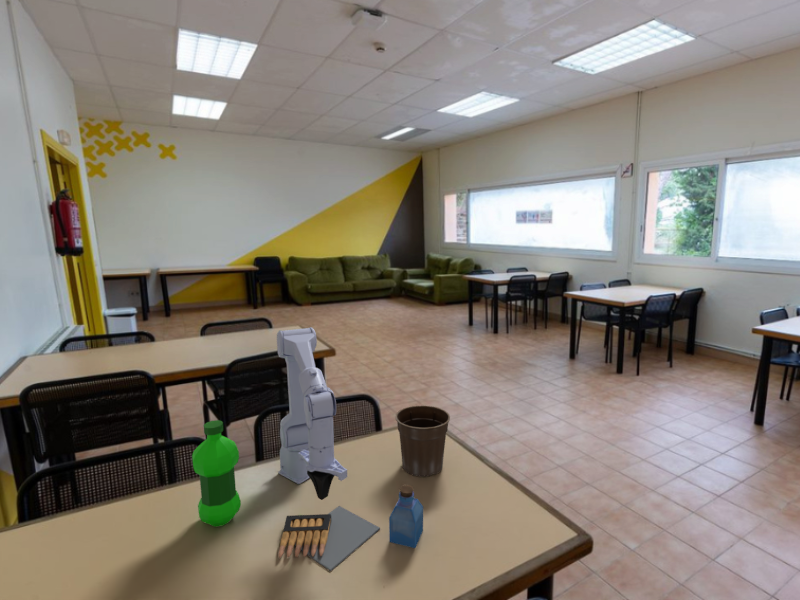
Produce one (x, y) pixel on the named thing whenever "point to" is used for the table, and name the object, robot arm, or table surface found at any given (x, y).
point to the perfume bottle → (406, 519)
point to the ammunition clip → (305, 533)
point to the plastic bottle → (216, 476)
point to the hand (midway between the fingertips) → (323, 496)
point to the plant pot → (422, 438)
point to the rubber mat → (342, 537)
